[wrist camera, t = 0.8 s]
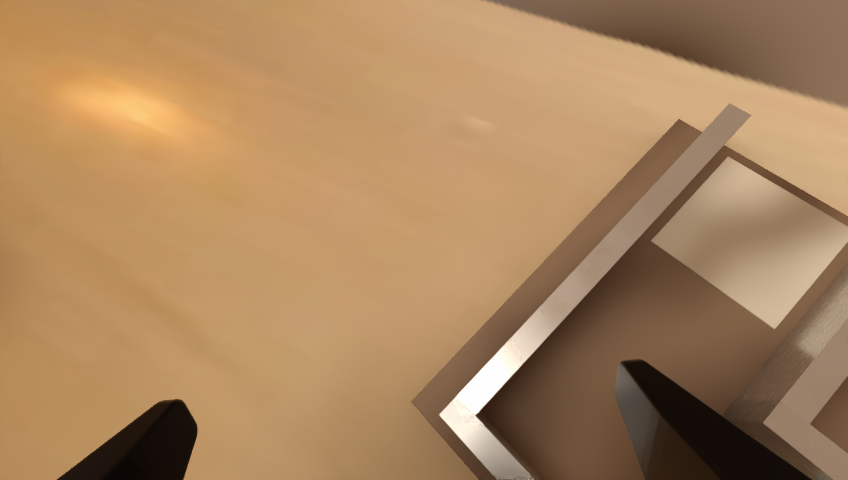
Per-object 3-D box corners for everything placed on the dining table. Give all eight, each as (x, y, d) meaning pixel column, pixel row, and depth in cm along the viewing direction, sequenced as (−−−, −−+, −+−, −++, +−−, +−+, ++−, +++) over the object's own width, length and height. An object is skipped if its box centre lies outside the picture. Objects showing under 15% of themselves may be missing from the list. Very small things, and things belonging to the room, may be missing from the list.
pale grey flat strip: (1218, 457, 15) (1279, 463, 14) (904, 955, 13) (946, 1014, 11) (670, 132, 23) (679, 118, 22) (416, 400, 20) (410, 401, 19)
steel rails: (1114, 384, 15) (1252, 384, 12) (817, 817, 13) (902, 934, 10) (699, 140, 21) (729, 103, 18) (448, 410, 19) (438, 414, 16)
